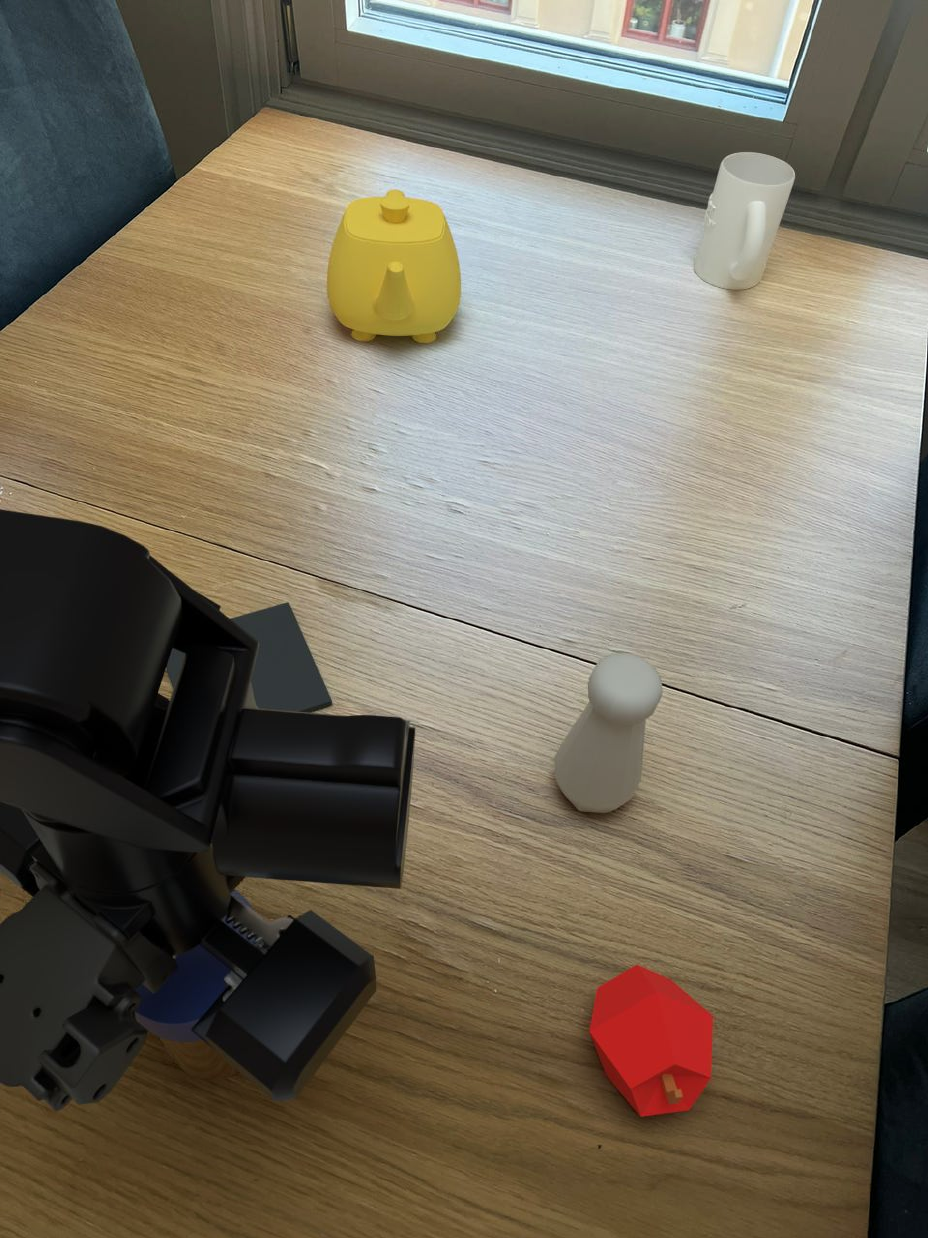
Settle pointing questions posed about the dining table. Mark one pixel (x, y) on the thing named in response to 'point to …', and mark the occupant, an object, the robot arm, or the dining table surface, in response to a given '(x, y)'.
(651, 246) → the dining table surface
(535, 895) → the dining table surface
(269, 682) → the mat
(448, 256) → the teapot
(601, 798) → the salt shaker
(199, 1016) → the jar lid
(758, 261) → the mug
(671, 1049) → the apple
